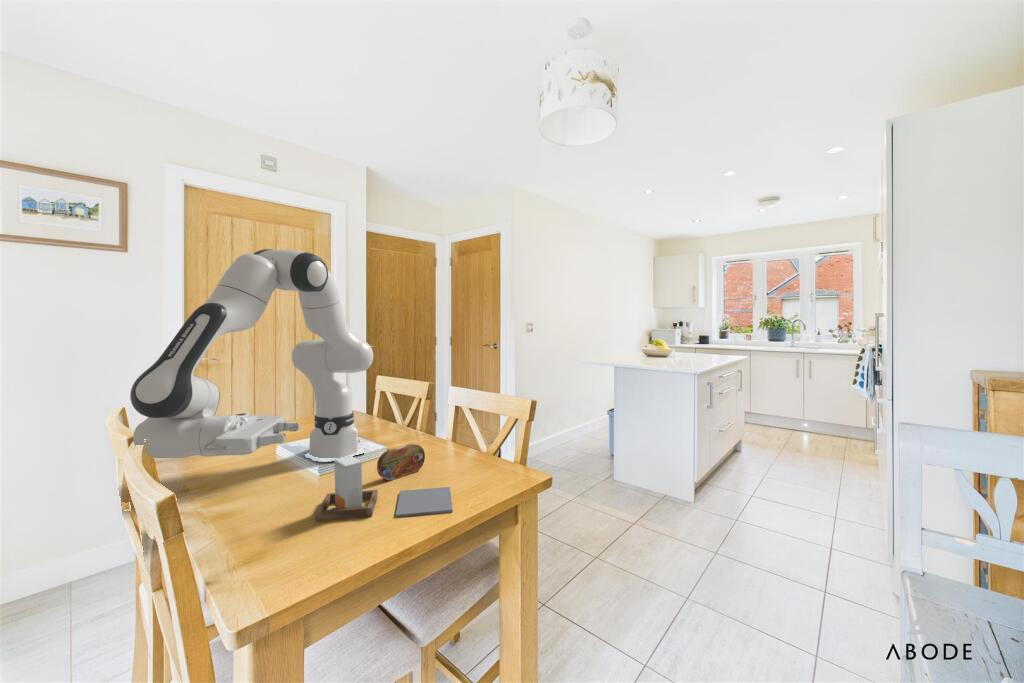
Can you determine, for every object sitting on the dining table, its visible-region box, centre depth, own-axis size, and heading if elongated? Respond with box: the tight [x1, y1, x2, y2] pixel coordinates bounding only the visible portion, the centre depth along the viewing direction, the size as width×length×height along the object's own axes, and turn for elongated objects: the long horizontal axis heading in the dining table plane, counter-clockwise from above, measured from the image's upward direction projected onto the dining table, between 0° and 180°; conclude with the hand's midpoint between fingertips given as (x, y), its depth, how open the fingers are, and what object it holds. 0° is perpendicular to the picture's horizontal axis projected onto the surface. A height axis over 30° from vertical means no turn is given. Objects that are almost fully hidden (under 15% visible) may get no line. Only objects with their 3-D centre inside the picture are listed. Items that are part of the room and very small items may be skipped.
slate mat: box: [395, 486, 454, 518], centre depth 98 cm, size 13×13×1 cm
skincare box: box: [334, 456, 363, 509], centre depth 94 cm, size 6×4×12 cm
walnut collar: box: [315, 489, 379, 522], centre depth 94 cm, size 10×12×2 cm
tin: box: [376, 443, 426, 482], centre depth 115 cm, size 15×3×8 cm, turn 139°
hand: (292, 432), depth 91 cm, fingers open, 8 cm apart
